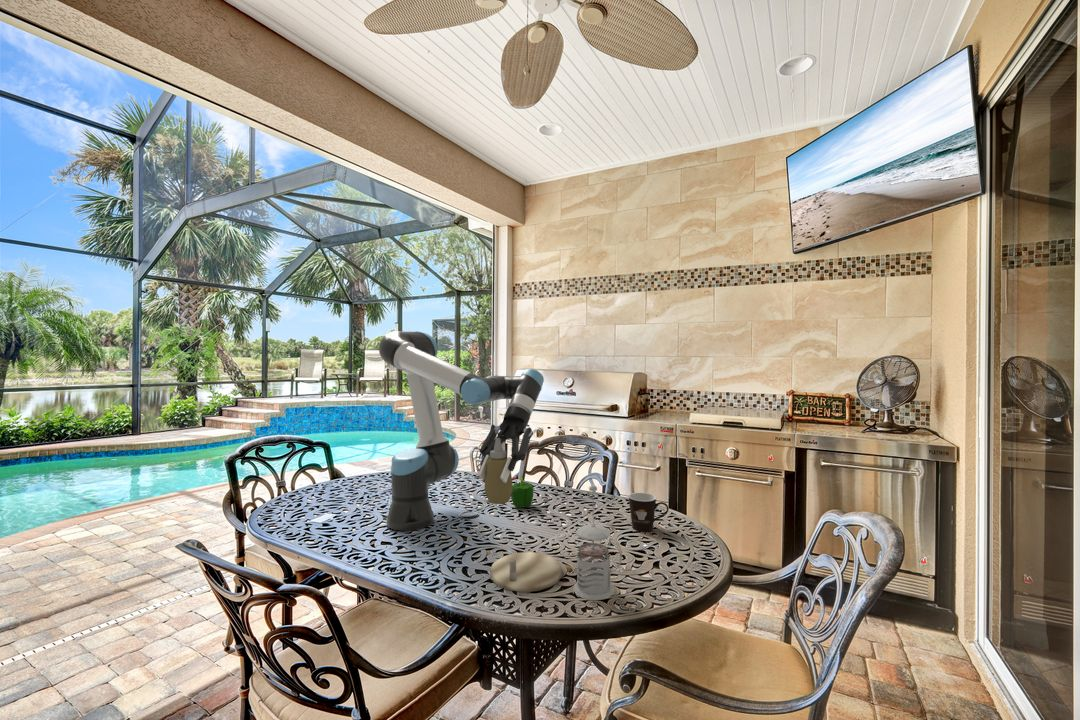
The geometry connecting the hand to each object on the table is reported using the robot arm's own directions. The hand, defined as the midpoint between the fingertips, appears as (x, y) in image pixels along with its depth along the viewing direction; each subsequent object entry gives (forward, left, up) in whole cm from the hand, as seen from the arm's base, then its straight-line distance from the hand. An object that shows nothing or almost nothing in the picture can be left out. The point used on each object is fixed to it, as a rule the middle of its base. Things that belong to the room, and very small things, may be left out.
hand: (491, 478), depth 131 cm
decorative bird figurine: (-29, +51, -22) cm, 62 cm away
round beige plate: (+13, -5, -22) cm, 26 cm away
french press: (+32, -5, -22) cm, 39 cm away
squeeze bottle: (0, +4, -8) cm, 8 cm away
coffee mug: (+34, +37, -22) cm, 55 cm away
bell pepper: (-12, +40, -22) cm, 47 cm away
